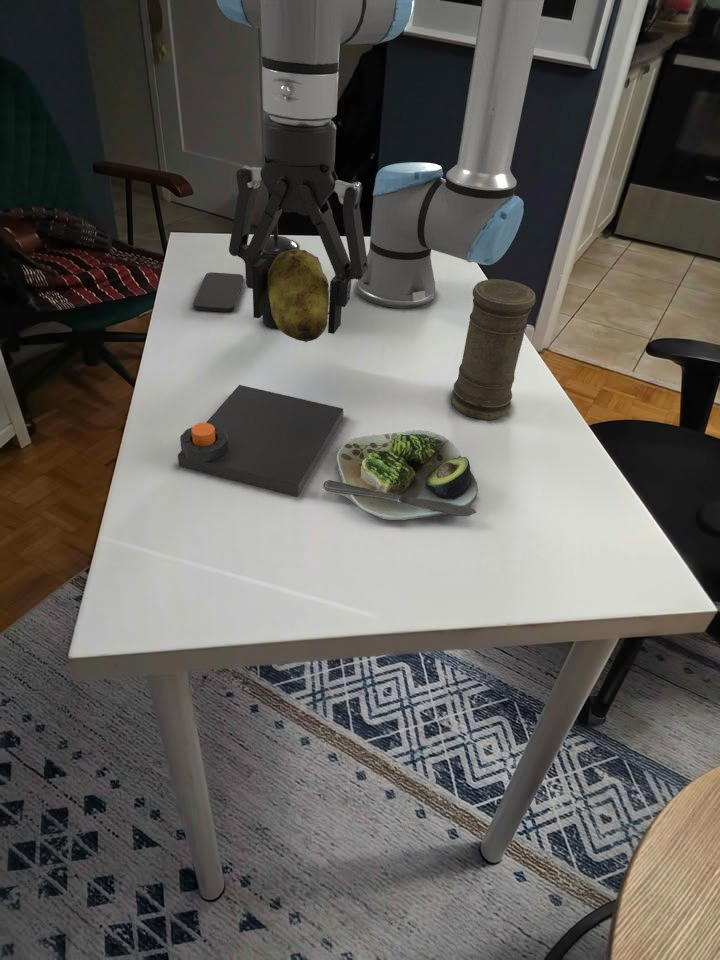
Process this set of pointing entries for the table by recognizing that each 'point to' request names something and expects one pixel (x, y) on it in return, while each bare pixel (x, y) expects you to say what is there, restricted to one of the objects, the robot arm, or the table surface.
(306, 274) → the potato
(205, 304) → the phone
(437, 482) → the salad plate
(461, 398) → the container
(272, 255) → the drinking cup
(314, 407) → the scale
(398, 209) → the robot arm
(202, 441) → the button
